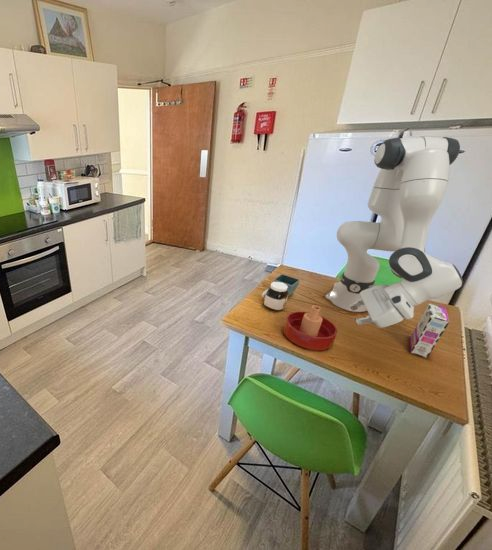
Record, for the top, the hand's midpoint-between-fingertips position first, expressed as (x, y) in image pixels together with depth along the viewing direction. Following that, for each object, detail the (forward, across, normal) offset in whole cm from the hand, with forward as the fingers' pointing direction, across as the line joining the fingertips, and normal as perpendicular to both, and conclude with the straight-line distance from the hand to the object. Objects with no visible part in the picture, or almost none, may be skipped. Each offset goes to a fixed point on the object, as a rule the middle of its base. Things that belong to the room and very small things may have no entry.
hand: (353, 314), depth 108 cm
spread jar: (+28, -20, -8) cm, 35 cm away
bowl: (+18, 0, +1) cm, 18 cm away
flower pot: (+24, -31, -4) cm, 39 cm away
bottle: (+18, 0, +1) cm, 18 cm away
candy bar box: (-8, -8, +28) cm, 30 cm away
